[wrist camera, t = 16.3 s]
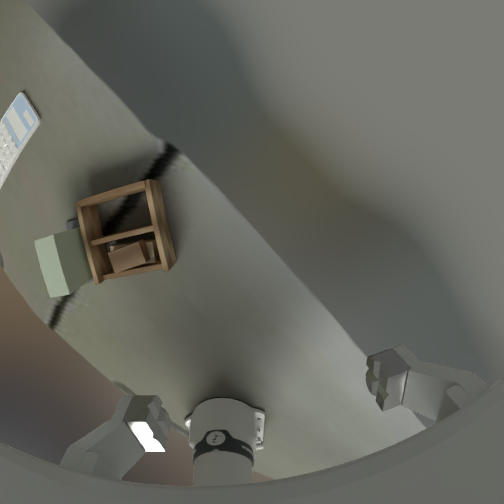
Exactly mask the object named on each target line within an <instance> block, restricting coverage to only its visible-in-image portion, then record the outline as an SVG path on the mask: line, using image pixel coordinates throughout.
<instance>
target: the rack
mask: <svg viewBox="0 0 504 504" xmlns="http://www.w3.org/2000/svg"><path fill="white" fill-rule="evenodd" d="M145 190H146V195H147V200H148V205H149V210H150V215H151V220H152V224H151V225H147V226H143V227H139V228H134V229H130V230H126V231H122V232H118V233H115V234H111V235H107V236H103V232H102V228H101V223H100V219H99V214H98V209H97V204H100V203H103V202H107V201H110V200H113V199H117V198H120V197H124V196H127V195H131V194H134V193H138V192H141V191H145ZM75 203H76V208H77V214H78V219H79V224H80V228H81V233H82V237H83V241H84V245H85V249H86V253H87V257H88V261H89V264H90V268H91V271H92V275H93V278H94V282H95V285H97V284H100V283H101V282H103V281H104V280H106V279H111V278H117V277H122V276H127V275H132V274H137V273H143V272H148V271H153V270H158V269H163V270H164V272H167V271H169V270H170V269H171V268H172V267H173V265H174V264H175V263H176V262H177V260H176V256H175V252H174V248H173V244H172V239H171V235H170V230H169V226H168V221H167V216H166V212H165V207H164V202H163V196H162V191H161V186H160V181H158V180H152V179H147V180H144V181H140V182H136V183H133V184H129V185H126V186H123V187H119V188H116V189H113V190H110V191H107V192H103V193H100V194H97V195H94V196H91V197H88V198H85V199H83V200H80V201H77V202H75ZM151 231H154V234H155V238H156V242H157V246H158V251H159V255H160V260H158V261H157V262H156V263H148V264H141V265H138V266H135V267H132V268H129V269H126V270H124V271H121V272H118V273H115V272H114V269H112V268H111V264H110V261H109V257H108V253H107V249H106V245H105V242H109V241H113V240H117V239H121V238H126V237H130V236H134V235H138V234H142V233H147V232H151Z"/></svg>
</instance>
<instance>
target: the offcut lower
mask: <svg viewBox="0 0 504 504" xmlns="http://www.w3.org/2000/svg"><path fill="white" fill-rule="evenodd" d="M134 242H136V241H134ZM134 242H125V243H116V244H114V245H112V246H110V251H113V250H115V249H118V248H120V247H123V246H126V245H128V244H131V243H134ZM144 242H145V245H146V248H147V251H148V254H149V256H150V260H149V261H148V262H146V263H144V264H148V263H156V262H157V261H158V260H159V259H160V258H159V251H158V246H157V242H156V239H153V240H144Z"/></svg>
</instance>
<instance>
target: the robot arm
mask: <svg viewBox="0 0 504 504" xmlns="http://www.w3.org/2000/svg"><path fill="white" fill-rule="evenodd" d="M366 365H367V366H368V367H369V370H368V371H367V372H366V383H367V387H368V389H369V391H370V393H371V394H372V395H375V396H376V402H377V404H378V405H379V407H380V408H381V410H382V411H386V410H388V409H391V408H393V407H396V406H398V405H401V404H402V406H404V407H406V408H409V409H411V410H413V411H415V412H417V413H419V414H422V415H424V416H426V417H428V418H430V419H433V420H435V421H436V422H435V424H434V425H432V426H431V427H429V428H427V429H425V430H423V431H421V432H419V433H417V434H415V435H413V436H411V437H409V438H407V439H405V440H403V441H401V442H398V443H396V444H394V445H392V446H389V447H387V448H385V449H382V450H380V451H377V452H375V453H372V454H370V455H367V456H364V457H361V458H359V459H356V460H353V461H350V462H347V463H344V464H340V465H337V466H334V467H330V468H327V469H323V470H319V471H316V472H312V473H307V474H303V475H298V476H294V477H289V478H283V479H278V480H271V481H265V482H257V483H254V481H253V472H252V467H253V464H254V459H255V458H256V451H257V450H259V449H263V434H264V419H265V412H264V411H262V410H259V409H255V408H252V407H250V406H248V405H247V404H245V403H243V402H241V401H238V400H234V399H229V398H215V399H210V400H207V401H204V402H202V403H200V404H199V405H198V406H197V407H196V408H195V409H194V411H193V413H192V415H191V416H189V417H187V418H186V419H185V425H186V426H187V427H188V428H189V445H190V446H191V447H192V448H193V449H194V452H193V463H194V478H193V486H166V485H153V484H143V483H134V482H127V481H123V480H122V479H121V478H122V477H123V475H124V474H125V473H126V472H127V471H128V470H129V469H130V468H131V467H132V466H133V465H134V464H135V463H136V462H137V461H138V460H139V459H140V458H141V457H142V456H143V455H144V453H145V452H146V451H165V449H166V444H167V437H166V436H165V435H166V434H167V433H168V432H169V430H170V418H169V414H168V412H167V411H166V410H165V409H164V408H162V407H161V405H162V401H161V399H160V397H159V396H157V395H135V396H131V395H124V396H123V397H122V398H121V400H120V402H119V404H118V406H117V408H116V410H115V412H114V414H113V417H112V419H111V421H106V422H105V423H104V424H102V425H101V426H99V427H98V428H97V429H95V430H93V431H92V432H90V433H89V434H87V435H86V436H84V437H83V438H82V439H80V440H78V441H77V442H75V443H74V444H72V445H70V446H69V447H68V449H67V451H66V453H65V455H64V457H63V459H62V461H61V463H60V465H59V466H58V465H55V464H52V463H49V462H46V461H43V460H41V459H38V458H35V457H33V456H30V455H28V454H25V453H23V452H21V451H18V450H16V449H14V448H11V447H10V446H8V445H5V444H1V443H0V504H504V377H503V378H501V379H500V380H499V381H498V382H497V383H495V384H494V385H493V386H492V387H489V386H488V385H486V384H485V383H484V382H483V381H482V380H481V379H480V378H479V377H477V376H476V375H475V374H474V373H472V372H466V371H462V370H457V369H452V368H447V367H443V366H439V365H434V364H430V363H423V364H422V363H421V362H420V361H419V360H418V359H417V358H416V357H415V356H414V355H413V354H412V353H411V352H410V351H409V350H408V349H407V348H406V347H405V346H404V345H402V344H399V345H397V346H395V347H392V348H390V349H387V350H385V351H382V352H379V353H376V354H374V355H371V356H368V358H367V364H366Z"/></svg>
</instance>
